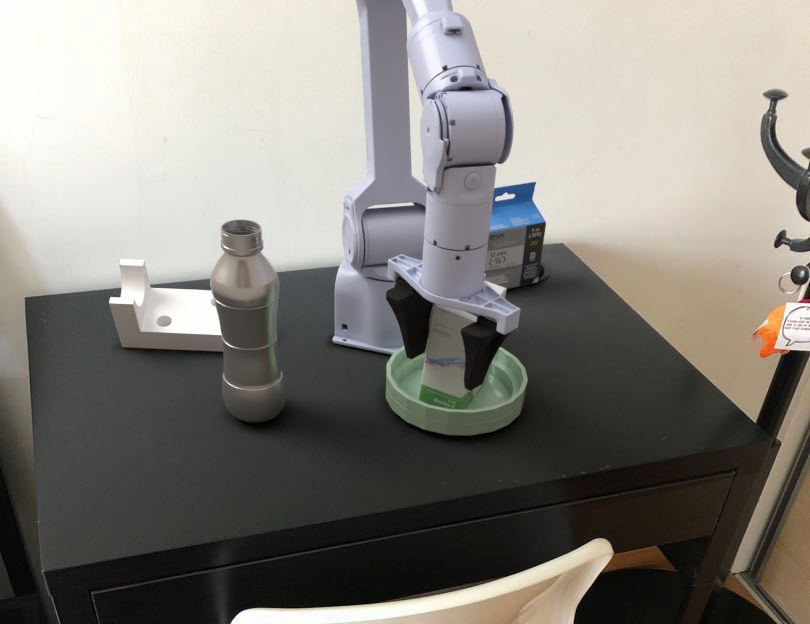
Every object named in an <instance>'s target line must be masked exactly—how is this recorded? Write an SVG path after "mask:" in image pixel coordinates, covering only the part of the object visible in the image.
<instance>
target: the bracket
mask: <svg viewBox="0 0 810 624" xmlns="http://www.w3.org/2000/svg"><path fill="white" fill-rule="evenodd" d="M118 266H119V270H120V279H121V280H120V281H121V291H120V296H119V297H118V296H117V297H116V296H110V298H109V301H108V306H109V309H110V312H111V315H112V319H113V322H114V325H115V328H116V332H117V335H118V338H119V339H118V340H119V341H120V345H121V348H131V349H155V350H179V351H203V352H222V353H223V342H222V334H221V330H220V323H219V318H218V314H217V311H216V307H215V303H214V299H213V296H212V292H211V289H210V290H209V289H189V288H188V289H187V288H167V287H166V288H165V287H164V288H163V287H152V286H151V282H150V278H149V275H148V270H147V266H146V262H145V259H130V258H129V259H127V258H120V260H119V265H118Z"/></svg>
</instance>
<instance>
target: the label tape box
mask: <svg viewBox="0 0 810 624" xmlns="http://www.w3.org/2000/svg"><path fill="white" fill-rule="evenodd" d="M536 184H537V182H536V181H529V182H523V183H518V184H517V183H516V184H510V185H504V186H497V187H494V195H493V204H492V213H491V221H490V230H489V239H488V247H487V255H486V264H485V274H486V280H485V281H488V282H490V283H494V284H496V285H499V286H502V287H504V288H507V290H509V289H514V288H519V287H522V286H527V285H532V284H536V283H538V282H539V278H540V277H539V276H540V270H541V264H542V257H543V248H544V241H545V235H546V227H547V222H546V220H545V219H544V216H543V215H542V213H541V211H540V210H539V208H538V207H537V205H536V203H535V201H534V200H533V197H534V193H535V189H536ZM505 194H507V195H509V196H510V195H514V196H513V197H512V198H505V199H500V200H496V199H497V197H502V196H504V195H505Z"/></svg>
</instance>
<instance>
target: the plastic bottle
mask: <svg viewBox="0 0 810 624" xmlns="http://www.w3.org/2000/svg"><path fill="white" fill-rule="evenodd" d="M220 237H221V239H220V248H221V250H222V251H223V253H222V255H220V257H219V259H217V261H216V263H215V265H214V267H213V268H212V270H211V274H210V279H209V286H210V290H211V292H212V296H213V299H214V303H215V307H216V311H217V314H218V318H219V323H220V330H221V334H222V342H223V352H222V354H223V355H222V357H223V372H222V376H221V377H222V378H221V397H222V400H223V402H224V406H225V408H226V410H227V411H228V412H229V413H230V414H231V415H232V416H233V417H234V418H236V419H238V420H240V421H242V422H246V423H264V422H268V421H271V420H273V419H275V418H276V417H277V416H279V414H280V413H281V412H282V411H283V409H284V408H285V406H286V400H287V399H286V398H287V387H286V382H285V377H284V375H283V371H282V367H281V361H280V355H279V348H278V334H277V333H278V322H277V321H278V309H279V298H280V278H279V276H278V273H277V271H276V269H275V267H274V266H273V265H272V263H271V261H270V260H269V259H268V258H267V256H265V255H264V253H263V252H262V251H263V250H264V240H263V230H262V225H260V223H258V222H256V221H254V220H249V219H231V220H228V221H225V222H223V223H222V225H221V226H220Z"/></svg>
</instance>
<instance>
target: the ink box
mask: <svg viewBox="0 0 810 624" xmlns="http://www.w3.org/2000/svg"><path fill="white" fill-rule="evenodd" d="M484 282H486V283H487V284H488V285H489V286H490V287H492V288H493V289H494V290H495V291H496V292H497V293H499V294H500V295H501V296H502V297H503V298H504V299H506V296H507V295H506V294H507V290H508V289H507V288H504V287H502V286H499V285H496V284H494V283H490V282H488V281H484ZM473 322H477V317H476V316H474V315H472V314H470V313H467V312H465V311H462V310H458V309H454V308H450V307H446V306H442V305H438V304H435V303H434V305H433V307H432V311H431V315H430V322H429V329H428V343H427V349H426V356H425V362H424V368H423V374H422V381H421V388H420V394H419V401H422V402H424V403H426V404H429V405H433V406H438V407H443V408H447V409H465V408H466V407H467V405H468V404H469V403H470V401H471V400H472V399H473V397H474V396H475V395H476V394H477V392H478V391H479V390H480V389H481V387H482V386H483V385H484V383H485V382H486V381H487V380H488V377H489V372H490V368H491V364H490V367H489V369H488V371H487V374H486V376H485V379H484V382H483V384H482V385H480V386H478V387H476V388H475V389H473V390H471V391H469V390H467V389H466V388H465V386H464V372H465V349H464V343H463V339H462V336H461V329H462V328H464V327H466V326H468V325H470V324H472V323H473ZM491 363H492V362H491Z"/></svg>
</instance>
